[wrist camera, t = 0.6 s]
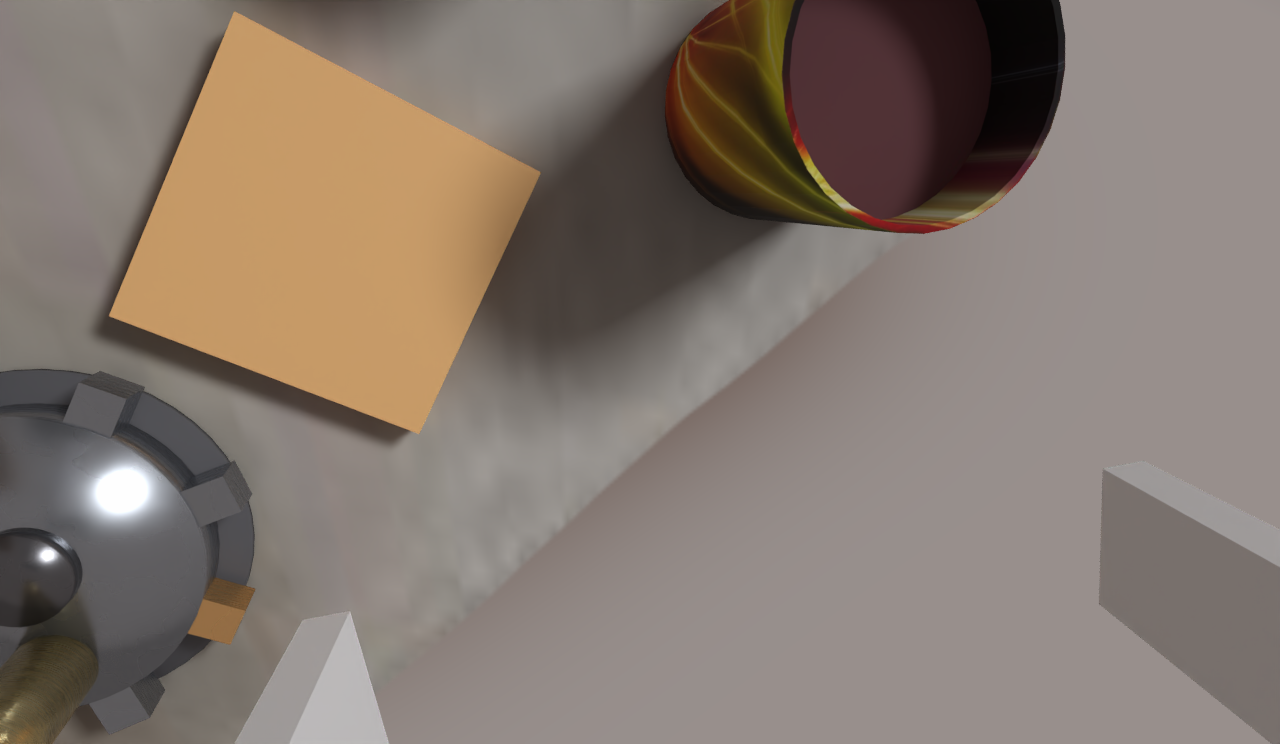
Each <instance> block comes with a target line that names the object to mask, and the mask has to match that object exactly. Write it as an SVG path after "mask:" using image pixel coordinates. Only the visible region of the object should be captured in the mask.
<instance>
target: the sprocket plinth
mask: <svg viewBox="0 0 1280 744" xmlns="http://www.w3.org/2000/svg"><path fill="white" fill-rule="evenodd" d="M90 376H92V375H91V374H85V373H80V372H74V371H64V370H50V369H31V370H12V371H5V372H0V407H1V406H7V405H13V404H32V403H43V404H59V405H67V406H69V405H70V403H71V400H72V398H73V395H74V393H75V390H76V388H77V386H78V383H79V382H81V381H82V380H84V379H86V378H88V377H90ZM129 424H131V425H133V426H135V427H137V428H139V429H141V430H142V431H144V432H146V433H148V434H150V435H151V436H153V437H154V438H155V439H157V440H158V441H160V442H161V443H162V444H164V445H165V446H167V447H168V448H169V449H170V450H171V451H172V452H173V453H174V454H176V455H177V456H178V457H179V458H180V459H181V460H182V461H183V462H184V463H185V464H186V466H187V467H188V468H189V469H190V470H191V471H192V473H193V474H194V475H197V474H200V473H202V472H205V471H208V470H210V469H213V468H216V467H219V466H221V465H224V464H227V463H229V462H230V461H229V460H228V458H227V457H226V455H225V454H224V453H223V452H222V450H221V449H220V448H219V447H218V446H217V444H216V443H215V442H214V441H213V440H212V438H211V437H210V436H209V435H207V434H206V433H205V432H204V431H203V430H202V429H201V428H200V427H199V426H198V425H197V424H196V423H195V422H193V421H192V420H191V419H189V418H188V417H186V416H185V415H184V414H182V413H181V412H180V411H178V410H177V409H175V408H174V407H172V406H171V405H169V404H167V403H165V402H164V401H162V400H160V399H158V398H156V397H155V396H153V395H151V394H149V393H146V392H144V391H143V392H142V395H141V397H140V400H139V402H138V404H137V407H136V409H135V411H134V414H133V416H132V419H131V421H130V423H129ZM217 525H218V533H219V541H220V549H219V563H218V568H217V574H216V578H220V579H223V580H227V581H230V582H234V583H237V584H241V585H244V586H246V584H247V581H248V578H249V575H250V571H251V566H252V561H253V556H254V527H253V518H252V512H251V509H250V505H249V501H248V502H247V503H246V505H245V507H244V508H243V510H242V511H241V512H239V513H236V514H233V515H231V516H228V517H226V518H223V519H220V520H218V521H217ZM210 641H211V639H207V638H203V637H199V636H195V635H192V634H188V633H187V635H186V636H185V638H184V639H183V640H182V642H181V643H180V644H179V646H178V647H177V648H176V650H175V651H174V652H173V653H172V654H171V655H170V656H169V657H168V658H167V659H166V660H165V661H164V662H163V663H162V664H161V665H160V666H159V667H157V668H156V669H155V670H154V673H155V675H156V676H157V678H160V677H162V676H164V675H166V674H168V673H170V672H171V671H173V670H174V669H176V668H178V667H179V666H181V665H182V664H184V663H186V662H187V661H188V660H190V659H191V658H192V657H193V656H195V655H196V654H197V653H198V652H200V651H201V650H202V649H203V648H204V647H205V646H206V645H207V644H208V643H209V642H210Z"/></svg>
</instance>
